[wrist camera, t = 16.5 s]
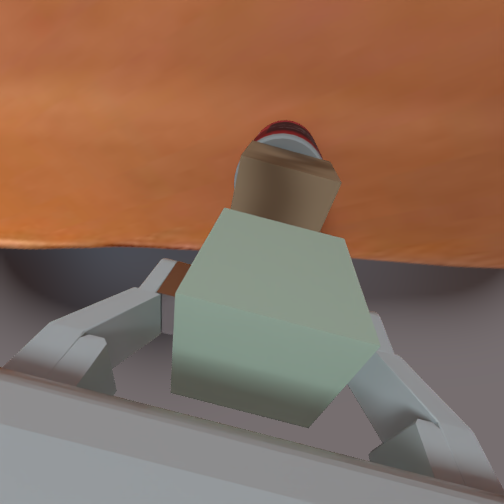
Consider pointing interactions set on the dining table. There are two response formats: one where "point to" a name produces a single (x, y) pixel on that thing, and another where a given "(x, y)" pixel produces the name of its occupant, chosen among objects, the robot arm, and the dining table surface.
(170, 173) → the dining table surface
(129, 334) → the robot arm
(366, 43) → the dining table surface
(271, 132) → the canned food
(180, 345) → the sage cube
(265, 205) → the walnut block
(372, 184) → the dining table surface
